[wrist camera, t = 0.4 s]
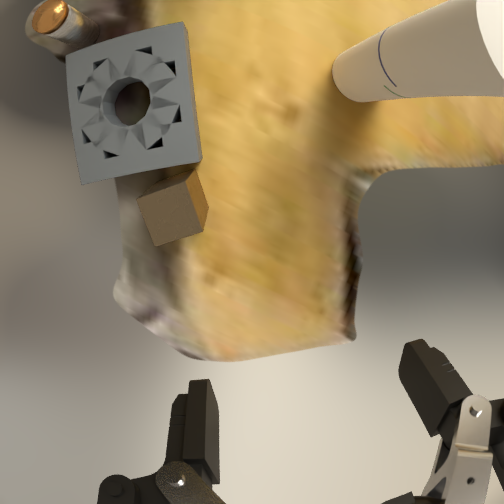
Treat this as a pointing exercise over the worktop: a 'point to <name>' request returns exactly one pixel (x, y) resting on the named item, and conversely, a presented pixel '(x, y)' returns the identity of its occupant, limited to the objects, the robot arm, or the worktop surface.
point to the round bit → (65, 24)
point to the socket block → (159, 112)
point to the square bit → (174, 208)
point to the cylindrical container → (429, 55)
